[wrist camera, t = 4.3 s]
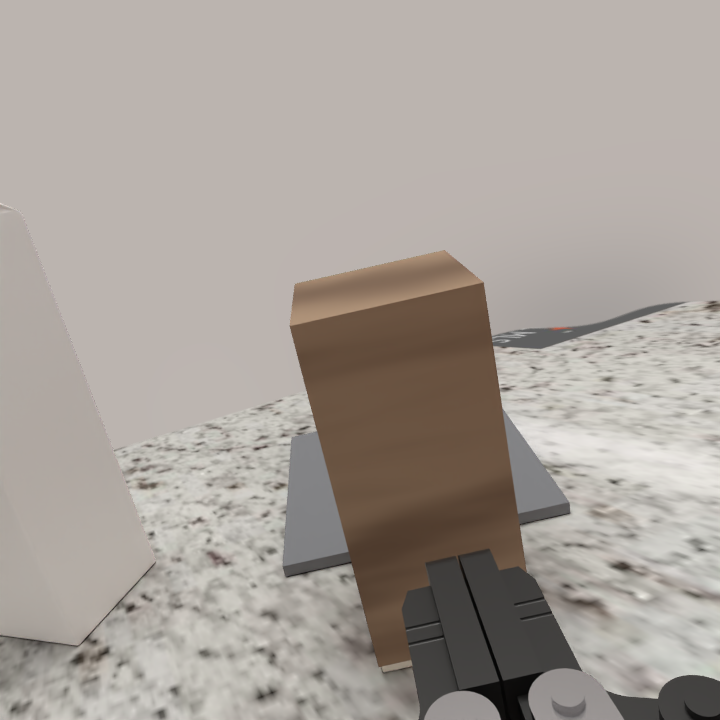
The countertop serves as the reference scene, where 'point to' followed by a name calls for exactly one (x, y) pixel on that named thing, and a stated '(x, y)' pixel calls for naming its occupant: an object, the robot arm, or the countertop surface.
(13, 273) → the milk
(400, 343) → the light wood block
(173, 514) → the countertop surface
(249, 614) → the countertop surface
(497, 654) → the robot arm
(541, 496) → the mat
